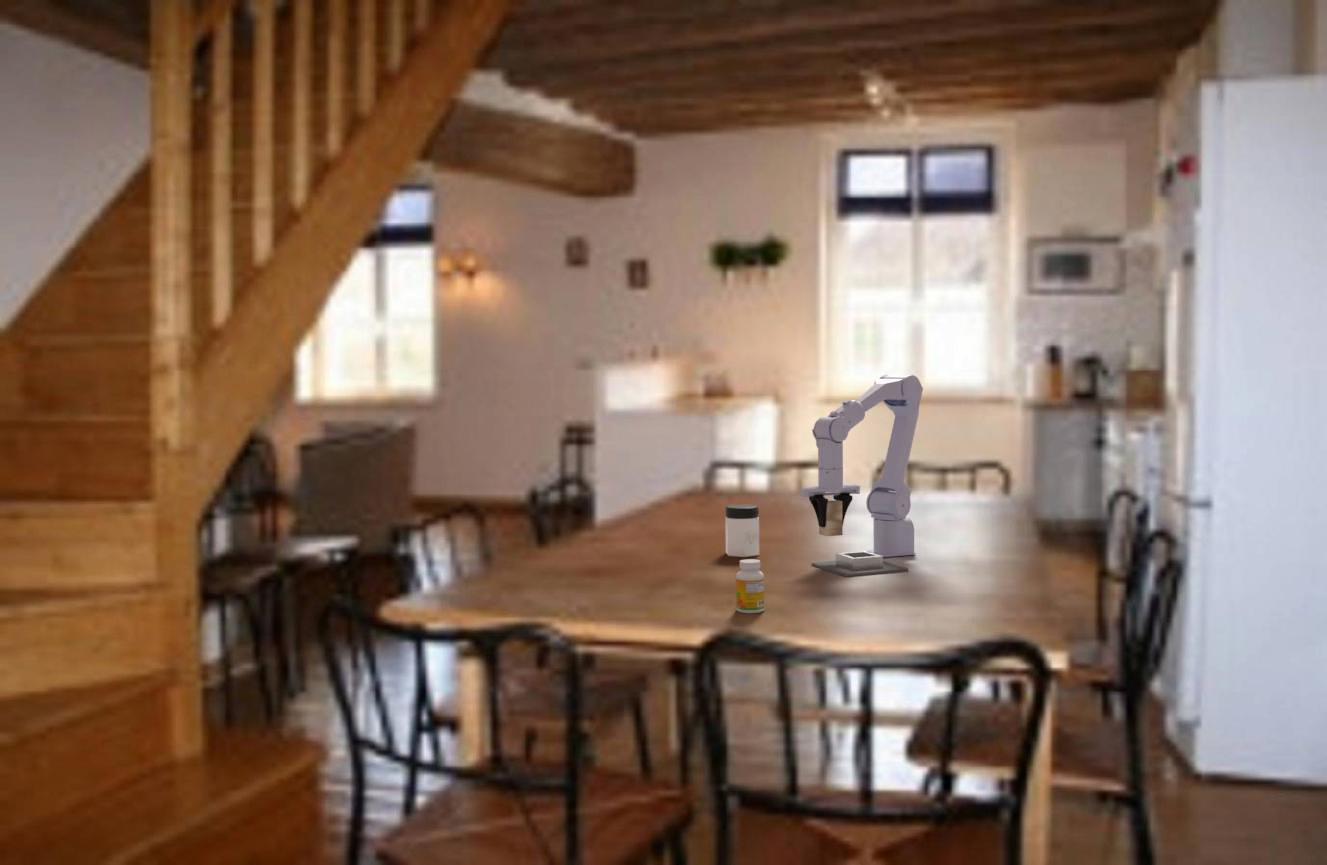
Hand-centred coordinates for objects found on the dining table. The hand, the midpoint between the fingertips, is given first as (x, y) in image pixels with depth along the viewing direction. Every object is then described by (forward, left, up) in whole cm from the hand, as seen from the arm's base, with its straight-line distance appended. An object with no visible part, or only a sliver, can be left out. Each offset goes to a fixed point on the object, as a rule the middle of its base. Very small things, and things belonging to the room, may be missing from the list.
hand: (830, 525), depth 273 cm
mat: (-3, +8, -9) cm, 12 cm away
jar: (+13, -21, -9) cm, 27 cm away
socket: (-3, +8, -9) cm, 12 cm away
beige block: (0, 0, -2) cm, 2 cm away
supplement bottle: (+39, +38, -9) cm, 55 cm away
